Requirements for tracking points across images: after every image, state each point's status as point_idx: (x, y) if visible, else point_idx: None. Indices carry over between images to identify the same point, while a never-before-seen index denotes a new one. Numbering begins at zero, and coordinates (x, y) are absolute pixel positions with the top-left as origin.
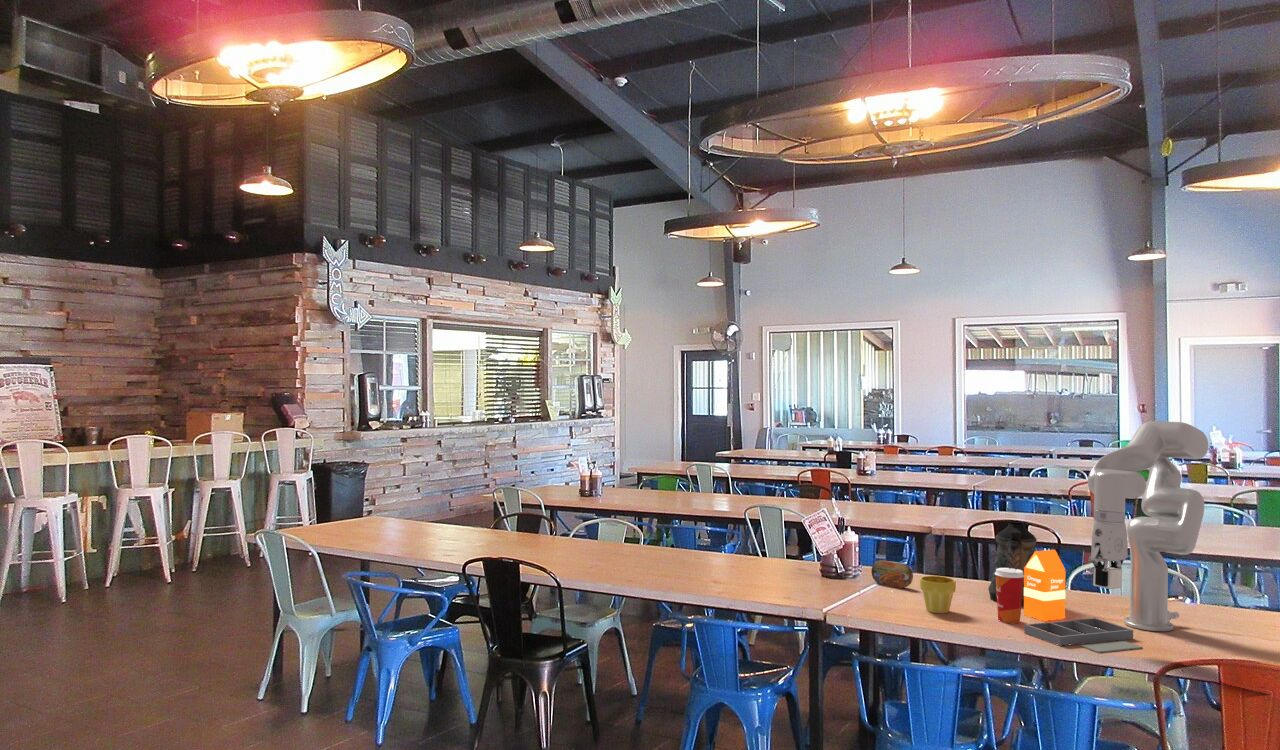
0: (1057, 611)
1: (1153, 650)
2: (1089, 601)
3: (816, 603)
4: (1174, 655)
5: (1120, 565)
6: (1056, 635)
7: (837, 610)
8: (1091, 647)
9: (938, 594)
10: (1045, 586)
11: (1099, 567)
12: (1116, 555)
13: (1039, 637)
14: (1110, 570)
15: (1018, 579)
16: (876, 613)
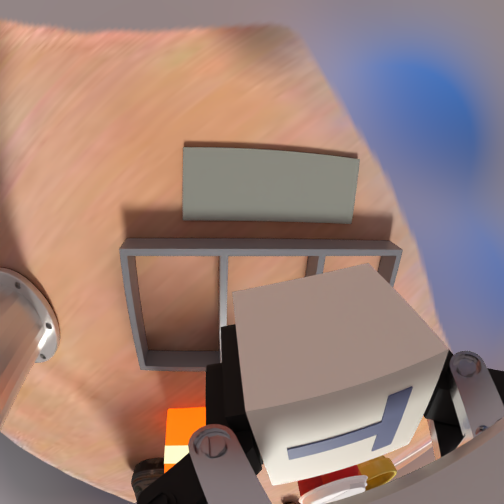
0: (191, 422)
1: (167, 121)
2: (52, 441)
3: (430, 447)
4: (152, 64)
5: (212, 466)
6: (398, 263)
7: None
8: (344, 195)
9: (383, 457)
10: None
11: (497, 374)
12: (488, 502)
13: None
14: (445, 354)
15: (341, 475)
16: (426, 427)
